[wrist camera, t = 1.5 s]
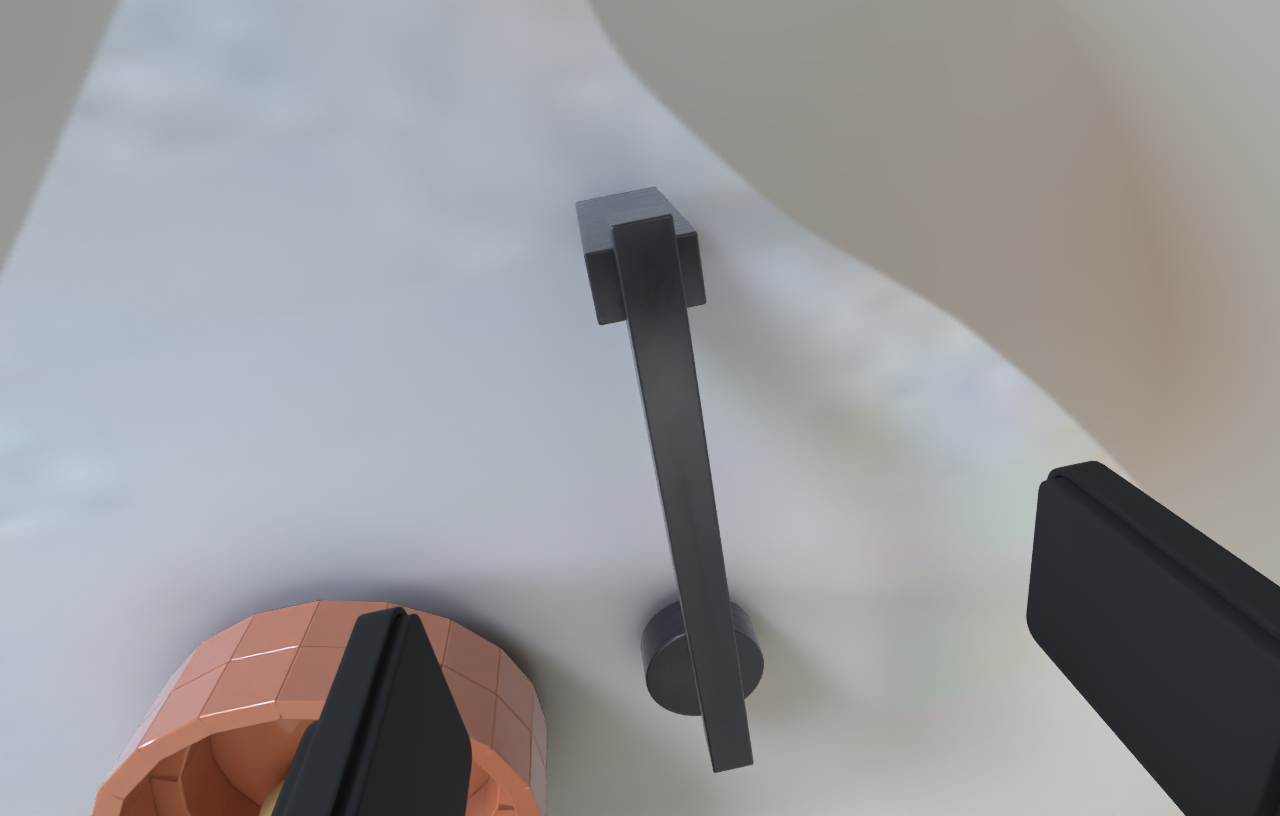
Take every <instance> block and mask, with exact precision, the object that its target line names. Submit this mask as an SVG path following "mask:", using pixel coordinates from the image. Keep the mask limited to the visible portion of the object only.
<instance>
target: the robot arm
mask: <svg viewBox="0 0 1280 816" xmlns="http://www.w3.org/2000/svg"><path fill="white" fill-rule="evenodd" d="M1026 618H1027V624H1028V628H1029V630H1030V633H1031V635H1032V636H1033V638H1034V640H1035V641H1036V642H1037V644H1038V645H1039V646H1040V647H1041V648H1042V649H1043V650H1044V652H1045V653H1046V654H1047V655H1048V656H1049V657H1050V659H1051V660H1052V661H1053V662H1054V663H1055V664H1056V666H1057V667H1058V668H1059V669H1060V670H1061V671H1062V673H1063V674H1064V675H1065V676H1066V677H1067V678H1068V680H1069V681H1070V682H1071V683H1072V684H1073V685H1074V687H1075V688H1076V689H1077V690H1078V691H1079V692H1080V693H1081V695H1082V696H1083V697H1084V698H1085V699H1086V700H1087V702H1088V703H1089V704H1090V705H1091V706H1092V707H1093V709H1094V710H1095V711H1096V712H1097V713H1098V714H1099V716H1100V717H1101V718H1102V719H1103V720H1104V721H1105V723H1106V724H1107V725H1108V726H1109V727H1110V728H1111V730H1112V731H1113V732H1114V733H1115V734H1116V735H1117V736H1118V738H1119V739H1120V740H1121V741H1122V742H1123V743H1124V745H1125V746H1126V747H1127V748H1128V749H1129V750H1130V752H1131V753H1132V754H1133V755H1134V756H1135V757H1136V759H1137V760H1138V761H1139V762H1140V763H1141V764H1142V766H1143V767H1144V768H1145V769H1146V770H1147V771H1148V773H1149V774H1150V775H1151V776H1152V777H1153V778H1154V779H1155V781H1156V782H1157V783H1158V784H1159V785H1160V786H1161V788H1162V789H1163V790H1164V791H1165V792H1166V793H1167V795H1168V796H1169V797H1170V798H1171V799H1172V800H1173V802H1174V803H1175V804H1176V805H1177V806H1178V807H1179V809H1180V810H1181V811H1182V812H1183V813H1184V814H1185V816H1280V587H1279V586H1278V585H1277V584H1275V583H1273V582H1272V581H1271V580H1269V579H1268V578H1266V577H1265V576H1264V575H1262V574H1261V573H1259V572H1258V571H1256V570H1255V569H1254V568H1252V567H1251V566H1249V565H1248V564H1246V563H1245V562H1243V561H1242V560H1241V559H1239V558H1237V557H1236V556H1235V555H1233V554H1232V553H1230V552H1229V551H1228V550H1226V549H1225V548H1223V547H1222V546H1220V545H1219V544H1217V543H1216V542H1215V541H1213V540H1212V539H1210V538H1209V537H1207V536H1206V535H1204V534H1203V533H1202V532H1200V531H1199V530H1197V529H1195V528H1194V527H1193V526H1191V525H1190V524H1189V523H1187V522H1186V521H1184V520H1183V519H1181V518H1180V517H1179V516H1177V515H1176V514H1174V513H1173V512H1171V511H1170V510H1168V509H1167V508H1166V507H1164V506H1163V505H1161V504H1160V503H1158V502H1157V501H1155V500H1154V499H1153V498H1151V497H1150V496H1148V495H1147V494H1145V493H1144V492H1142V491H1141V490H1140V489H1138V488H1137V487H1135V486H1134V485H1132V484H1131V483H1129V482H1128V481H1127V480H1125V479H1124V478H1122V477H1121V476H1119V475H1118V474H1117V473H1115V472H1114V471H1112V470H1111V469H1109V468H1108V467H1106V466H1105V465H1103V464H1101V463H1099V462H1097V461H1088V462H1083V463H1078V464H1074V465H1069V466H1064V467H1059V468H1056V469H1053V470H1052V471H1051V472H1050V473H1049V475H1048V478H1047V480H1046V481H1044V482H1042V483H1041V485H1040V487H1039V492H1038V502H1037V512H1036V522H1035V533H1034V543H1033V553H1032V563H1031V573H1030V584H1029V594H1028V604H1027V614H1026ZM471 767H472V747H471V741H470V738H469V735H468V732H467V730H466V727H465V725H464V723H463V720H462V718H461V715H460V713H459V710H458V708H457V706H456V703H455V701H454V698H453V696H452V694H451V691H450V689H449V686H448V684H447V681H446V679H445V677H444V674H443V672H442V669H441V667H440V664H439V662H438V660H437V657H436V655H435V652H434V650H433V648H432V645H431V643H430V640H429V638H428V635H427V633H426V631H425V628H424V626H423V623H422V621H421V619H420V617H419V616H418V615H417V614H409V615H408V614H407V613H406V611H405V610H404V609H403V608H402V607H399V606H398V607H393V608H389V609H384V610H379V611H374V612H370V613H365V614H362V615H360V616H359V617H358V618H357V620H356V622H355V625H354V627H353V630H352V633H351V635H350V638H349V641H348V643H347V646H346V649H345V651H344V654H343V657H342V659H341V662H340V665H339V667H338V670H337V672H336V675H335V678H334V680H333V683H332V686H331V688H330V691H329V694H328V696H327V699H326V702H325V704H324V707H323V709H322V712H321V715H320V717H319V720H317V721H313V722H312V723H311V724H310V725H309V726H308V727H307V728H306V730H305V732H304V734H303V736H302V738H301V740H300V743H299V745H298V748H297V750H296V753H295V755H294V758H293V760H292V763H291V765H290V768H289V771H288V773H287V776H286V778H285V781H284V783H283V786H282V788H281V791H280V793H279V796H278V798H277V801H276V804H275V806H274V809H273V811H272V814H271V816H465V814H466V806H467V799H468V791H469V783H470V775H471Z"/></svg>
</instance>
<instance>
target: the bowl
mask: <svg viewBox="0 0 1280 816" xmlns="http://www.w3.org/2000/svg"><path fill="white" fill-rule="evenodd" d="M398 606H399V607H402V608H403V609H404V610H405V611H406V613H407V614H408V615H409V614H417V615H418V616H419V617H420V619H421V621H422V623H423V626H424V628H425V631H426V633H427V635H428V638H429V640H430V643H431V645H432V648H433V650H434V652H435V655H436V657H437V660H438V662H439V664H440V667H441V669H442V672H443V674H444V677H445V679H446V681H447V684H448V686H449V689H450V691H451V694H452V696H453V698H454V701H455V703H456V706H457V708H458V710H459V713H460V715H461V718H462V720H463V723H464V725H465V727H466V730H467V732H468V735H469V738H470V741H471V747H472V767H471V775H470V783H469V791H468V799H467V806H466V814H465V816H546V757H547V725H546V720H545V717H544V715H543V712H542V709H541V706H540V703H539V700H538V697H537V694H536V691H535V688H534V686H533V683H532V682H531V681H530V680H529V679H528V678H527V677H526V675H525V674H524V673H523V672H522V671H521V670H520V669H519V668H518V666H517V665H516V664H515V663H514V662H513V661H512V660H511V659H510V658H509V656H508V655H507V654H506V653H505V652H504V651H503V650H502V649H501V648H499V647H498V646H496V645H494V644H493V643H491V642H489V641H487V640H486V639H484V638H482V637H480V636H479V635H477V634H475V633H474V632H472V631H470V630H468V629H467V628H465V627H463V626H462V625H460V624H458V623H456V622H455V621H452V620H451V619H449V618H445V617H441V616H438V615H434V614H430V613H427V612H423V611H419V610H416V609H412V608H409V607H405V606H401V605H398V604H394V603H388V602H371V601H340V600H321V601H320V600H318V601H313V602H309V603H304V604H299V605H294V606H290V607H285V608H280V609H275V610H271V611H266V612H261V613H257V614H254V615H252V616H250V617H248V618H246V619H244V620H242V621H240V622H239V623H237V624H235V625H233V626H231V627H229V628H227V629H225V630H223V631H221V632H220V633H218V634H216V635H214V636H212V637H210V638H208V639H206V640H204V641H203V642H202V643H201V644H200V645H199V646H198V647H197V648H196V649H195V650H194V651H193V653H192V654H191V655H190V656H189V657H188V658H187V659H186V660H185V661H184V663H183V664H182V665H181V666H180V667H179V668H178V669H177V670H176V671H175V672H174V674H173V675H172V676H171V677H170V678H169V679H168V681H167V682H166V684H165V685H164V687H163V689H162V690H161V692H160V693H159V695H158V697H157V698H156V700H155V701H154V703H153V704H152V706H151V708H150V709H149V711H148V712H147V714H146V715H145V717H144V719H143V720H142V722H141V723H140V725H139V726H138V728H137V730H136V731H135V733H134V734H133V736H132V737H131V739H130V740H129V742H128V744H127V745H126V747H125V748H124V750H123V751H122V753H121V755H120V756H119V758H118V759H117V761H116V762H115V764H114V766H113V767H112V769H111V770H110V772H109V773H108V775H107V777H106V778H105V780H104V781H103V783H102V784H101V786H100V788H99V789H98V791H97V795H96V799H95V803H94V807H93V811H92V815H91V816H259V813H260V810H261V807H262V805H263V803H264V801H265V799H266V798H267V796H268V795H269V793H270V792H271V791H272V790H273V789H274V788H275V787H276V786H277V785H278V784H279V783H280V782H282V781H283V780H285V778H286V776H287V773H288V771H289V768H290V765H291V763H292V760H293V758H294V755H295V753H296V750H297V748H298V745H299V743H300V740H301V738H302V736H303V734H304V732H305V730H306V728H307V727H308V726H309V725H310V724H311V723H312V722H313V721H317V720H319V717H320V715H321V712H322V709H323V707H324V704H325V702H326V699H327V696H328V694H329V691H330V688H331V686H332V683H333V680H334V678H335V675H336V672H337V670H338V667H339V665H340V662H341V659H342V657H343V654H344V651H345V649H346V646H347V643H348V641H349V638H350V635H351V633H352V630H353V627H354V625H355V622H356V620H357V618H358V617H359V616H360V615H362V614H365V613H370V612H374V611H379V610H384V609H389V608H393V607H398Z"/></svg>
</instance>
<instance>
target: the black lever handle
mask: <svg viewBox="0 0 1280 816" xmlns="http://www.w3.org/2000/svg"><path fill="white" fill-rule="evenodd" d="M576 210H577V216H578V222H579V228H580V234H581V240H582V246H583V252H584V258H585V263H586V267H587V272H588V277H589V282H590V286H591V291H592V296H593V301H594V305H595V310H596V315H597V320H598V323H599V325H604V324H609V323H614V322H619V321H624V320H626V323H627V328H628V333H629V338H630V344H631V349H632V354H633V359H634V365H635V370H636V375H637V380H638V386H639V391H640V396H641V401H642V406H643V412H644V417H645V422H646V427H647V433H648V438H649V443H650V448H651V454H652V459H653V464H654V469H655V474H656V480H657V485H658V490H659V495H660V501H661V506H662V511H663V516H664V522H665V527H666V532H667V537H668V543H669V548H670V553H671V558H672V563H673V569H674V574H675V579H676V584H677V590H678V595H679V600H680V601H677V602H675V603H673V604H671V605H669V606H667V607H665V608H664V609H662V610H661V611H660V612H658V613H657V614H656V615H655V616H654V617H653V618H652V619H651V621H650V622H649V623H648V625H647V626H646V628H645V630H644V633H643V635H642V640H641V652H642V658H643V665H644V672H645V678H646V685H647V688H648V691H649V693H650V695H651V696H652V697H653V699H654V700H655V701H656V702H657V703H658V704H659V705H660V706H662V707H663V708H665V709H667V710H669V711H671V712H674V713H677V714H682V715H689V716H702V720H703V726H704V731H705V736H706V741H707V745H708V750H709V754H710V758H711V763H712V767H713V771H714V773H717V772H722V771H726V770H731V769H735V768H740V767H744V766H749V765H753V763H754V762H753V755H752V748H751V741H750V735H749V728H748V721H747V714H746V708H745V701H744V699H746V698H747V697H748V696H749V695H750V694H751V693H752V692H753V690H754V689H755V688H756V686H757V685H758V683H759V681H760V679H761V677H762V674H763V668H764V660H763V655H762V652H761V649H760V647H759V644H758V641H757V638H756V635H755V633H754V630H753V627H752V624H751V622H750V619H749V618H748V616H747V614H746V613H745V612H744V611H743V610H742V609H741V608H740V607H738V606H737V605H736V604H734V603H732V602H730V599H729V592H728V585H727V579H726V572H725V565H724V558H723V552H722V545H721V538H720V531H719V524H718V518H717V511H716V504H715V497H714V490H713V484H712V477H711V470H710V463H709V457H708V450H707V443H706V436H705V429H704V423H703V416H702V409H701V402H700V395H699V389H698V382H697V375H696V368H695V362H694V355H693V348H692V341H691V334H690V328H689V321H688V314H687V308H688V307H693V306H698V305H703V304H705V303H706V295H705V288H704V280H703V273H702V265H701V258H700V250H699V243H698V235H697V232H696V231H695V230H694V229H693V228H692V227H691V226H690V224H689V223H688V222H687V221H686V220H685V219H684V218H683V217H682V216H681V214H680V213H679V212H678V211H677V210H676V209H675V208H674V207H673V206H672V204H671V203H670V202H669V201H668V200H667V199H666V198H665V197H664V196H663V194H662V193H661V192H660V191H659V190H658V189H657V188H656V187H651V188H646V189H641V190H636V191H631V192H626V193H621V194H616V195H611V196H606V197H601V198H595V199H590V200H585V201H580V202H577V203H576Z"/></svg>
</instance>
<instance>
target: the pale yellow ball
mask: <svg viewBox="0 0 1280 816" xmlns="http://www.w3.org/2000/svg"><path fill="white" fill-rule="evenodd" d="M284 781H285V780H283V781H282V782H280V783H279V784H278V785H277V786H276V787H275V788H274V789H273V790H272V791H271V792H270V793H269V795H268V796H267V798H266V799H265V801H264V803H263V805H262V807H261V810H260V813H259V816H271V814H272V811H273V809H274V806H275V804H276V801H277V798H278V796H279V793H280V791H281V788H282V786H283V783H284Z"/></svg>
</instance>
